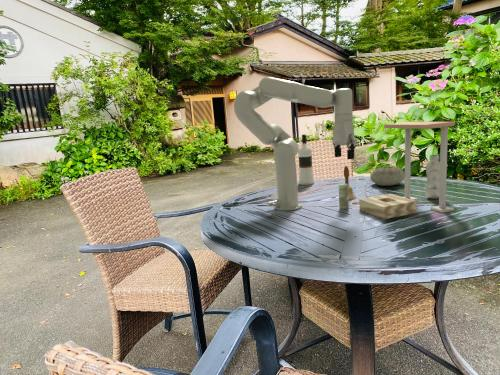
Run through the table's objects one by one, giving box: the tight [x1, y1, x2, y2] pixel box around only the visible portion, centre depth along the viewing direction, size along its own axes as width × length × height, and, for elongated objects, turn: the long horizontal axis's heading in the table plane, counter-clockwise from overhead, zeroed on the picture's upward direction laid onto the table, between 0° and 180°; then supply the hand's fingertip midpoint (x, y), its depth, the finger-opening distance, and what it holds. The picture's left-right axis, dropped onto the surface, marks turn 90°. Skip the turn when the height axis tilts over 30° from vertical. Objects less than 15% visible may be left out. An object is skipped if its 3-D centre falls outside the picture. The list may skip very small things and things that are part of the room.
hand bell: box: [343, 165, 357, 201], centre depth 180 cm, size 8×8×16 cm
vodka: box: [297, 134, 315, 186], centre depth 220 cm, size 9×9×30 cm
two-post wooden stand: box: [383, 121, 456, 213], centre depth 154 cm, size 14×26×36 cm, turn 18°
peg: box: [338, 183, 350, 211], centre depth 162 cm, size 4×4×11 cm
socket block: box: [358, 193, 418, 220], centre depth 153 cm, size 16×16×5 cm
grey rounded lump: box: [369, 166, 405, 187], centre depth 203 cm, size 18×18×10 cm
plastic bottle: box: [424, 154, 440, 200], centre depth 166 cm, size 6×7×20 cm
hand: (344, 157), depth 160 cm, fingers open, 9 cm apart
